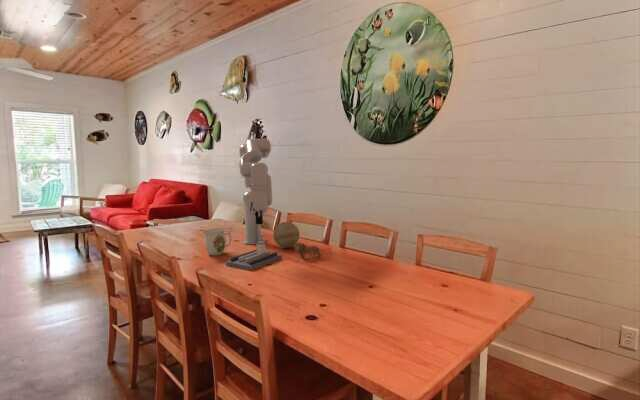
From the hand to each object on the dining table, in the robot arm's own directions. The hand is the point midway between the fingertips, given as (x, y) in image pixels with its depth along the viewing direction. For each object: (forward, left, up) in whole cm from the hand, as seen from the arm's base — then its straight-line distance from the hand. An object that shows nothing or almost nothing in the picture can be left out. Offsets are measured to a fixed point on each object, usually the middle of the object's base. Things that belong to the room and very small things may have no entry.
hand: (259, 223), depth 195 cm
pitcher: (+2, -28, -19) cm, 34 cm away
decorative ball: (-28, -3, -19) cm, 34 cm away
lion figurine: (-15, +20, -19) cm, 31 cm away
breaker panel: (+4, 0, -19) cm, 19 cm away
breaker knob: (-1, 0, -17) cm, 17 cm away
